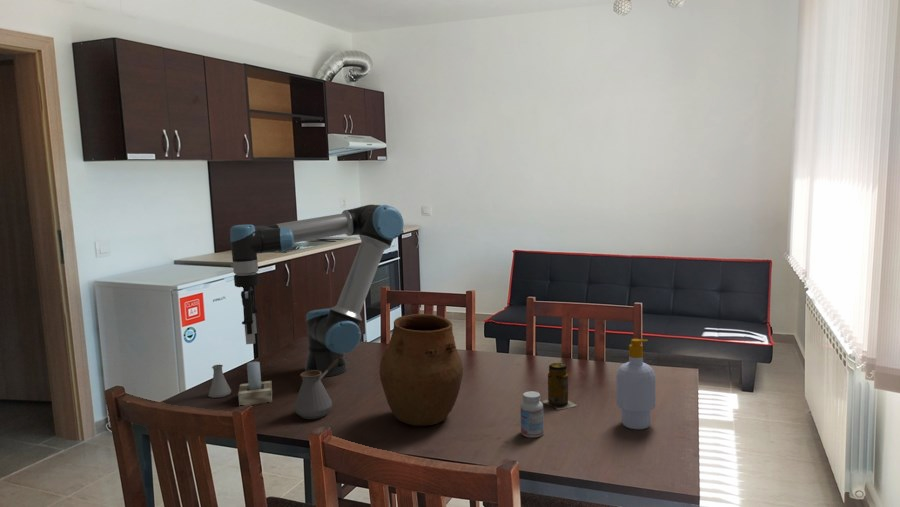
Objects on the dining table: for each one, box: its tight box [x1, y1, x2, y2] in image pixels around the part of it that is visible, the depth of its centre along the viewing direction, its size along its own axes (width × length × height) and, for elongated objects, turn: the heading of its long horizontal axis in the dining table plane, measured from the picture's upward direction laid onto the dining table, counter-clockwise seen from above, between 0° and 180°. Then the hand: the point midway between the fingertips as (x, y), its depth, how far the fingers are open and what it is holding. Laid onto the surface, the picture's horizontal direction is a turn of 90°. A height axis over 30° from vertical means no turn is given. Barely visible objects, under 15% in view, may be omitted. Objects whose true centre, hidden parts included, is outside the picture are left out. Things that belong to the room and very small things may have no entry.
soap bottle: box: [616, 338, 657, 430], centre depth 177 cm, size 10×10×24 cm
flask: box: [208, 364, 233, 399], centre depth 216 cm, size 7×7×10 cm
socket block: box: [237, 380, 273, 407], centre depth 211 cm, size 10×10×4 cm
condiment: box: [541, 362, 578, 411], centre depth 196 cm, size 7×8×12 cm
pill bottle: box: [520, 390, 545, 439], centre depth 175 cm, size 6×6×11 cm
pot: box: [379, 313, 464, 427], centre depth 186 cm, size 24×24×30 cm
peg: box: [246, 361, 262, 391], centre depth 211 cm, size 4×4×12 cm
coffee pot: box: [293, 353, 348, 420], centre depth 199 cm, size 21×12×15 cm, turn 149°
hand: (251, 338), depth 209 cm, fingers open, 13 cm apart
